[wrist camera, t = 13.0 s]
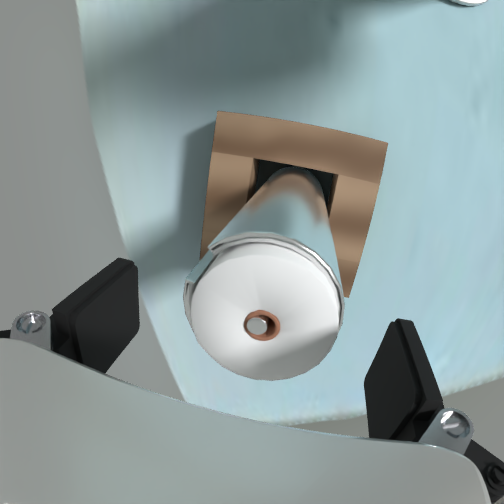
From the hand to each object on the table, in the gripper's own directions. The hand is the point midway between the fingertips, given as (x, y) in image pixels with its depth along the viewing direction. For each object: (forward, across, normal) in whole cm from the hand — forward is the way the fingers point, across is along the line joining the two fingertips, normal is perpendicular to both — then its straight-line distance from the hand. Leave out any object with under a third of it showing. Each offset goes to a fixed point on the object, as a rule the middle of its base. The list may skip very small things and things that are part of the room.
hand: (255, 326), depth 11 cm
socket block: (+25, 0, +1) cm, 25 cm away
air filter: (+26, 0, +1) cm, 26 cm away
